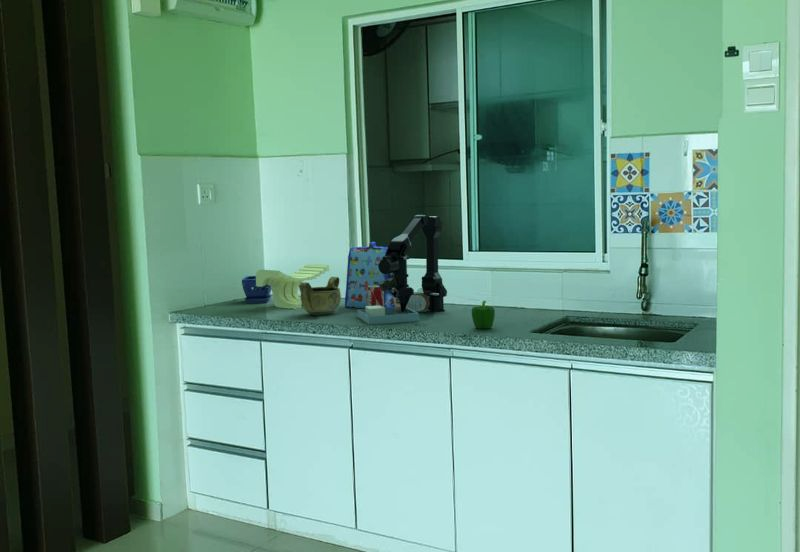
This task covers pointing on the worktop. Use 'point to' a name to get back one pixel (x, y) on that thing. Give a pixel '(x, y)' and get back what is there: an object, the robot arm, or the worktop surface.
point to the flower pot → (255, 291)
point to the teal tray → (388, 316)
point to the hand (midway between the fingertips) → (400, 310)
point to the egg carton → (374, 310)
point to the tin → (418, 302)
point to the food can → (398, 307)
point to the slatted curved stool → (288, 283)
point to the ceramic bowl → (320, 297)
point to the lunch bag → (365, 275)
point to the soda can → (375, 296)
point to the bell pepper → (483, 316)
